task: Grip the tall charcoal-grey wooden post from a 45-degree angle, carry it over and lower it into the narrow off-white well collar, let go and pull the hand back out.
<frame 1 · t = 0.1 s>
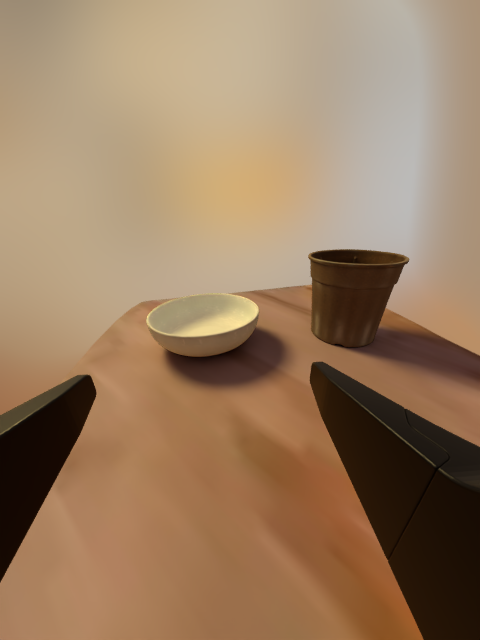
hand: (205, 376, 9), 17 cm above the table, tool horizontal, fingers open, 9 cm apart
plant pot: (340, 334, 47), on the table
serving bowl: (207, 341, 46), on the table
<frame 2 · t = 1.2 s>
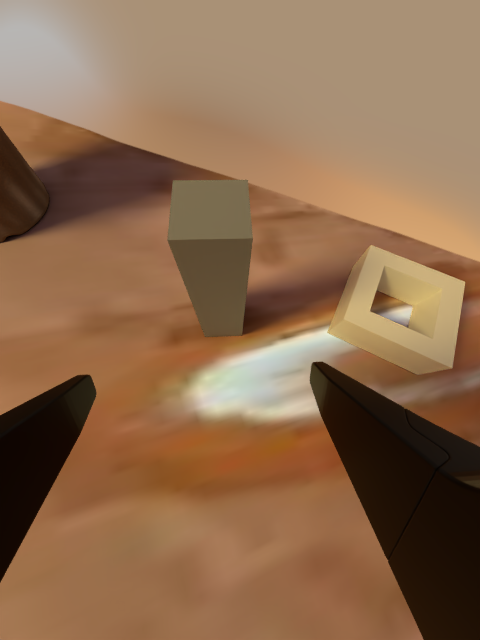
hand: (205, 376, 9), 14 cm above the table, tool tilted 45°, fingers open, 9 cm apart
plant pot: (4, 211, 30), on the table
post: (223, 319, 25), on the table
well collar: (382, 315, 26), on the table
when the fingers open (8 cm above the table, at t = 8.3 s): post drops 1 cm, resting in well collar.
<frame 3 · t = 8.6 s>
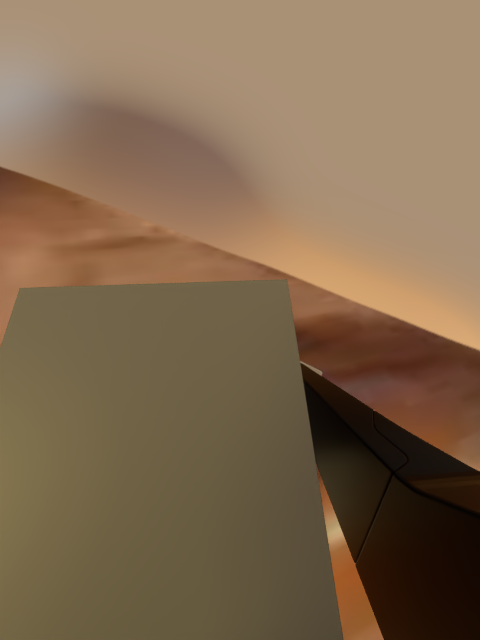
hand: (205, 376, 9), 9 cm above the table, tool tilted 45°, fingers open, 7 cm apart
post: (216, 409, 17), resting in well collar
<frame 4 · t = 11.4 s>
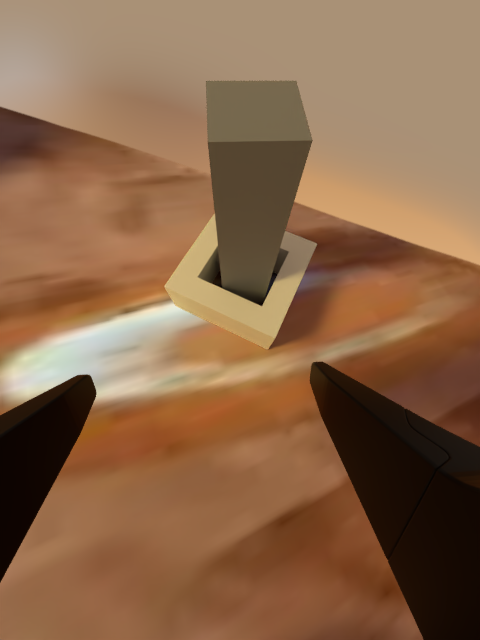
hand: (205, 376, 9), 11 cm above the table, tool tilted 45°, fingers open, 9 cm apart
post: (242, 286, 23), resting in well collar
well collar: (242, 286, 23), on the table
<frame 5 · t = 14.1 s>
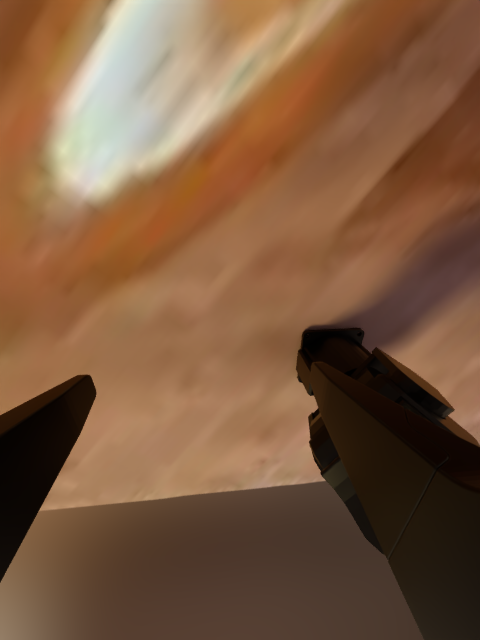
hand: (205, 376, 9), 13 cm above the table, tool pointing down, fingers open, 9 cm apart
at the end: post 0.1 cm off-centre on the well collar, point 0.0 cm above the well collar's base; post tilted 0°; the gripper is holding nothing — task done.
